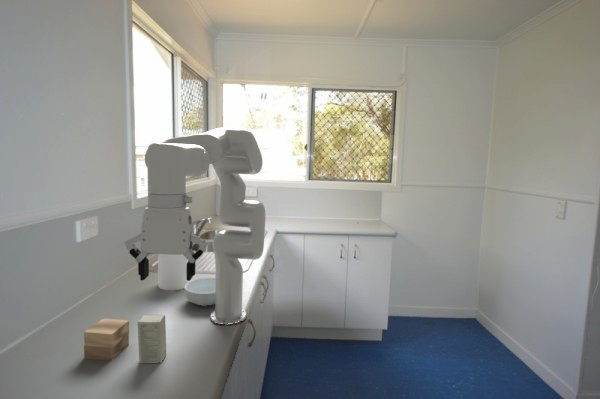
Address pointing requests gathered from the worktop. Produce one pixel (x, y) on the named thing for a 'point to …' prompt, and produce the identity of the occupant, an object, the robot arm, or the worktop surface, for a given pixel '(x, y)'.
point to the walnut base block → (106, 350)
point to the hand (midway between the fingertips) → (167, 278)
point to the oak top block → (106, 333)
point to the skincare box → (152, 338)
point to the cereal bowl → (201, 291)
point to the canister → (172, 271)
